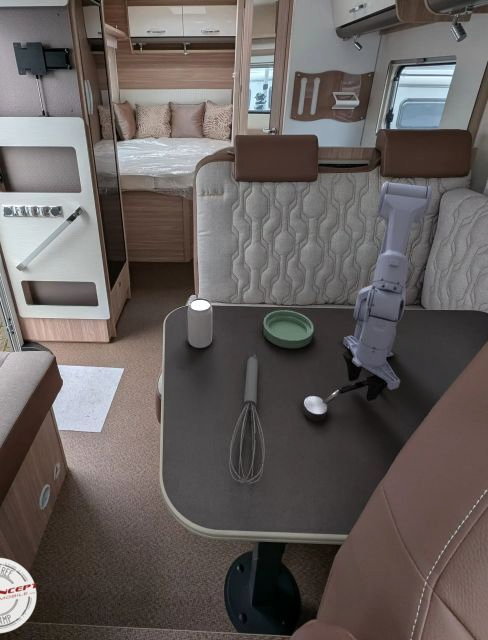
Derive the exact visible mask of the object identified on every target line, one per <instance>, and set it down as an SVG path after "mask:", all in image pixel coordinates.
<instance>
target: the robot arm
mask: <svg viewBox="0 0 488 640" xmlns="http://www.w3.org/2000/svg"><path fill="white" fill-rule="evenodd" d="M433 192H434V191H433V188H432V187H431V186H430V185H427V186H426V185H425V186H424V185H415V184H405V183H397V182H389V181H385V182H383V183H382V186H381V189H380V194H379V198H378V204H377V211H376V213H377V216H378V217H379V218H381V219H383V220H384V227H385V228H384V234H383V238H382V241H381V246H380V250H379V255H378V257H377V260H376V264H375V270H374V275H373V279H372V284H370V285H368V286H365V287H362V288H360V290H358V294H357V296H356V302H355V306H354V310H353V315H352V317H353V319H354V320H355V321H356V325H355V330H354V334H353V335H348V336H344V337H343V342H342V344H343V345H344V346H345V347H346V348H347V351H344V352H343V354H342V357H343V358H344V361H345V364H346V368H347V369H346V370H347V378H348V381H349V382H350V383H351V382H354V381H357V380H359V377H360V375H361V372H362V368H364V369H366V370H368V371H369V372H371V373H372V374H373V375H369V376H367V377H366V380H367V381H368V386H367V391H366V394H365V398H366V400H367V402H372V401H375V400H376V399H377V398H378V397H379V395H380V394H381V393H382V391H384V390H385V389H386V388H388V389H389V390H390V391H392V390H395V389H398V388H399V386H400V383H401V379H400V378H399V377H398V376H397V375H396V373H395V372H394V370H393V369H392V367H391V365H390V364H389V362H388V360H387V358H389V357H393V356H394V353H393V352H392V349H393V345H394V343H395V340H396V335H397V330H396V327H397V324H398V323H399V322H401V320H402V318H403V315H404V312H405V309H406V308H405V307H406V301H407V300H406V298H407V297H406V292H407V287H406V281H407V276H408V271H409V266H410V265H409V264H410V261H409V259H408V257H406V255H405V251H406V247H407V244H408V241H409V238H410V234H411V231H412V226H413V224H414V223H415V224H417V223H420V222H421V221H422V220H423V219H424V217H425V216H426V214H427V213H428V212H429V209H430V207H431V202H432V198H433Z"/></svg>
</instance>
